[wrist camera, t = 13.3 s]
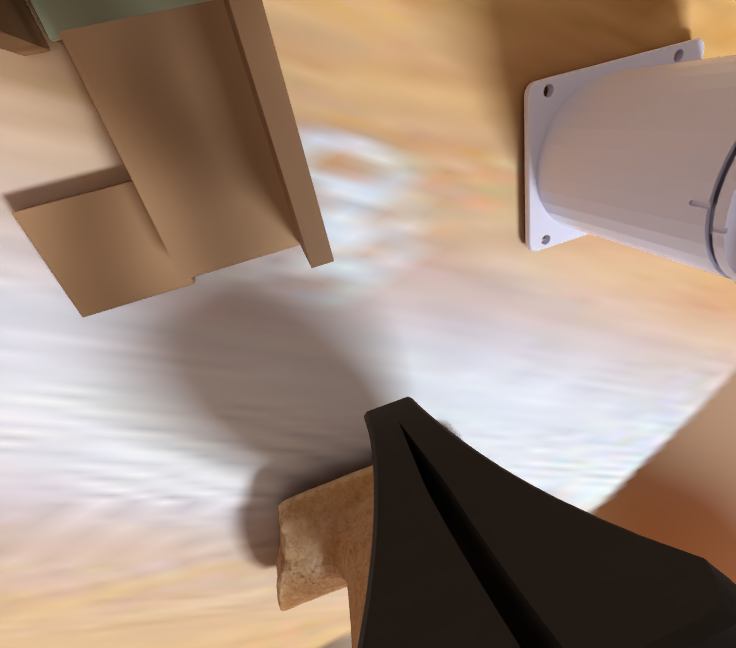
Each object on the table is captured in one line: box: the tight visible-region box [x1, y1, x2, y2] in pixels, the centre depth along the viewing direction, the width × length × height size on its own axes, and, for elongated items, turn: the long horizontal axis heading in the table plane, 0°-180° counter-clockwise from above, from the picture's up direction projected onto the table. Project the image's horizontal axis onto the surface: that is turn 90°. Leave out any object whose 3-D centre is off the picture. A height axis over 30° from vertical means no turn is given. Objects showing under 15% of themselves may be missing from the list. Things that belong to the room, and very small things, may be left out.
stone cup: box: [276, 465, 374, 648], centre depth 21 cm, size 15×12×15 cm
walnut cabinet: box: [0, 0, 334, 317], centre depth 11 cm, size 10×15×5 cm
